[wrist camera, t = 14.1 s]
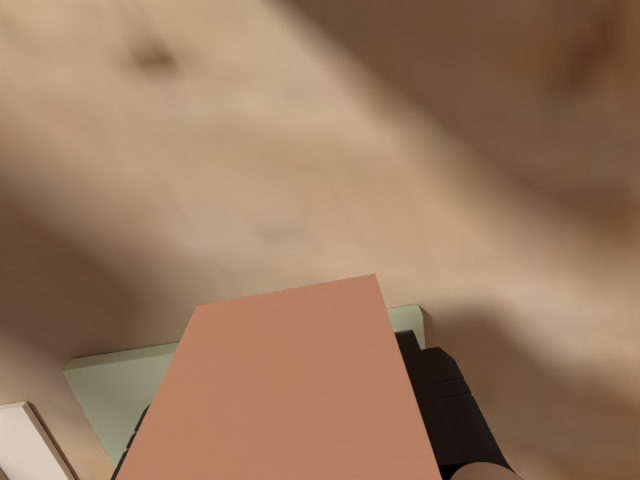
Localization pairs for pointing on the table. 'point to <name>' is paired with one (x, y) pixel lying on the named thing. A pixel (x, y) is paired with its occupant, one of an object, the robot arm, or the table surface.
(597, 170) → the table surface
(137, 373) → the build plate
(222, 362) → the brick
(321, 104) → the table surface
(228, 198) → the table surface
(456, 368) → the robot arm
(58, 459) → the page
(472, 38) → the table surface
